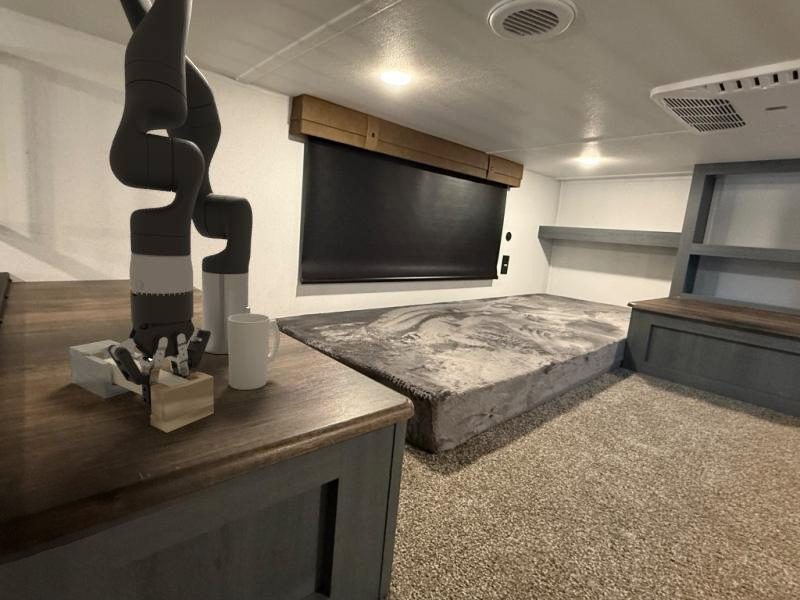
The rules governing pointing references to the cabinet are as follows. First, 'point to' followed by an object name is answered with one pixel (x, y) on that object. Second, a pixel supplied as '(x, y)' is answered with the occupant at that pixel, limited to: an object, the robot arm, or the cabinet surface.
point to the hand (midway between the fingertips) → (165, 402)
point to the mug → (250, 349)
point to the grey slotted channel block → (95, 369)
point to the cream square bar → (120, 380)
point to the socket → (182, 402)
